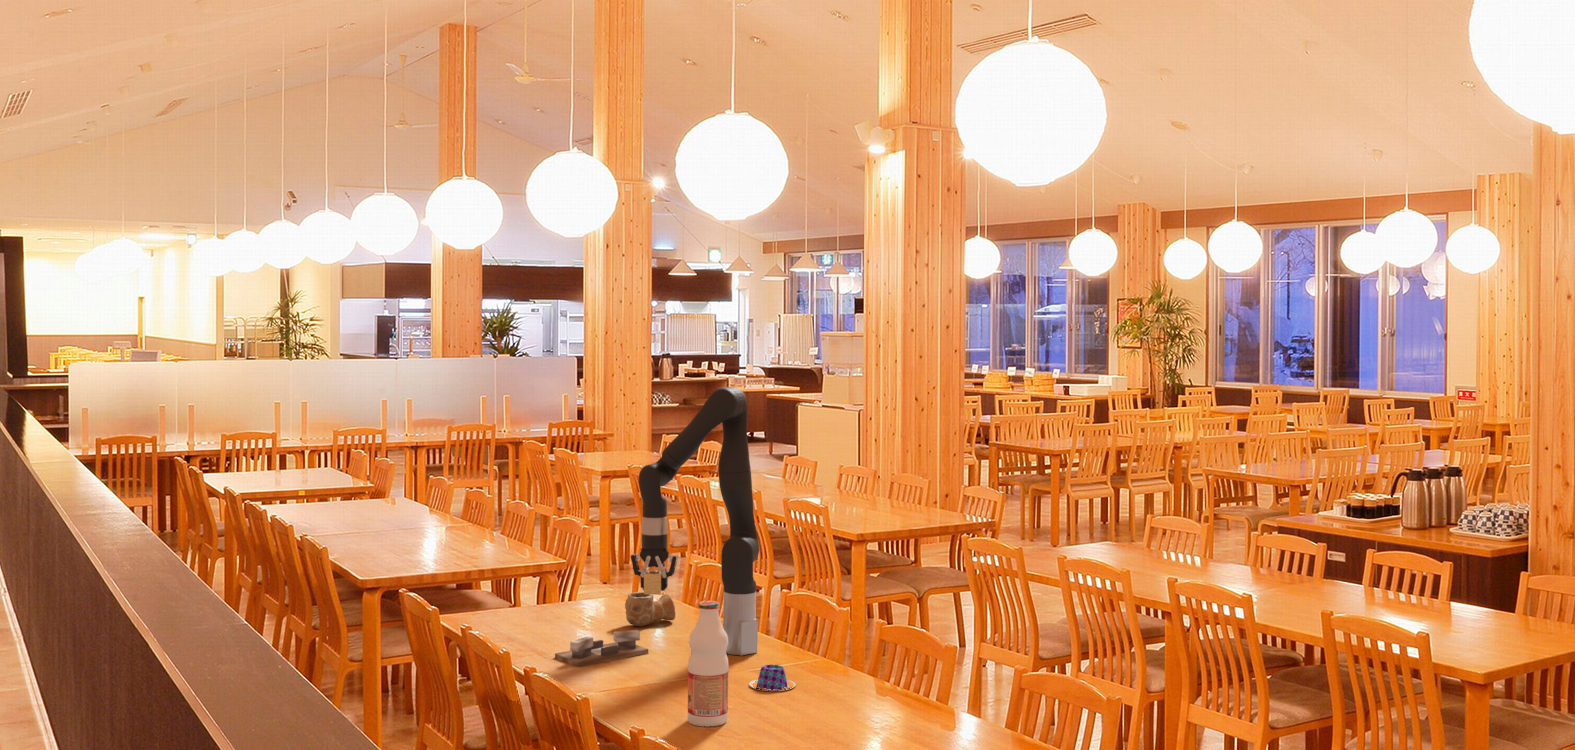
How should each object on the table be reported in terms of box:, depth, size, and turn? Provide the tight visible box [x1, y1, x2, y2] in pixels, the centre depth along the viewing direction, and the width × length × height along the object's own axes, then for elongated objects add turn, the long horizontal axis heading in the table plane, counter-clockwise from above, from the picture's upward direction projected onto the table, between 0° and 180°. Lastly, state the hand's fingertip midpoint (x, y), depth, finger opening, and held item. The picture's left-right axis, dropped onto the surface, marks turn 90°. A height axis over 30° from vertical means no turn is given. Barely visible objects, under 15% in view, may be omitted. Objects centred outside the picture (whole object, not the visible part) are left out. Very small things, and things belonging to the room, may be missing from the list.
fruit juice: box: [687, 600, 729, 728], centre depth 297 cm, size 9×9×28 cm
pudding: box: [748, 664, 796, 692], centre depth 328 cm, size 12×12×5 cm
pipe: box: [624, 591, 676, 627], centre depth 393 cm, size 9×16×10 cm, turn 131°
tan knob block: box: [643, 569, 665, 596], centre depth 371 cm, size 5×5×6 cm
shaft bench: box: [554, 629, 649, 668], centre depth 355 cm, size 12×23×6 cm, turn 131°
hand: (654, 589), depth 371 cm, fingers closed on tan knob block, 5 cm apart
